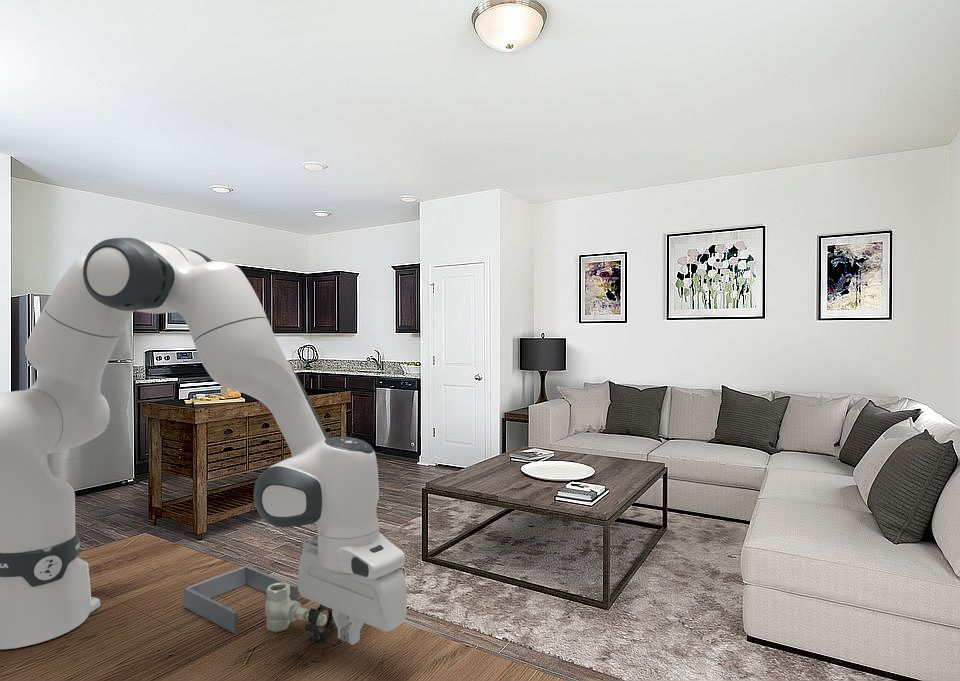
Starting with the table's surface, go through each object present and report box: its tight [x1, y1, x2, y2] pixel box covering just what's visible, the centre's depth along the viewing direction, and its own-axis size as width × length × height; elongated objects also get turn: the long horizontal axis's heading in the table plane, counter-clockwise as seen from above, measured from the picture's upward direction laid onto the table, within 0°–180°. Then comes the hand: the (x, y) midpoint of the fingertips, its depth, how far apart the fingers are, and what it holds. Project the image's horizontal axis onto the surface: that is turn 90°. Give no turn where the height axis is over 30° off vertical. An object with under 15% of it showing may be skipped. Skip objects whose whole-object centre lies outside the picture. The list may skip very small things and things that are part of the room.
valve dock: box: [183, 565, 299, 635], centre depth 103 cm, size 16×12×3 cm
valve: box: [264, 583, 336, 643], centre depth 94 cm, size 7×7×12 cm
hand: (349, 640), depth 86 cm, fingers closed
